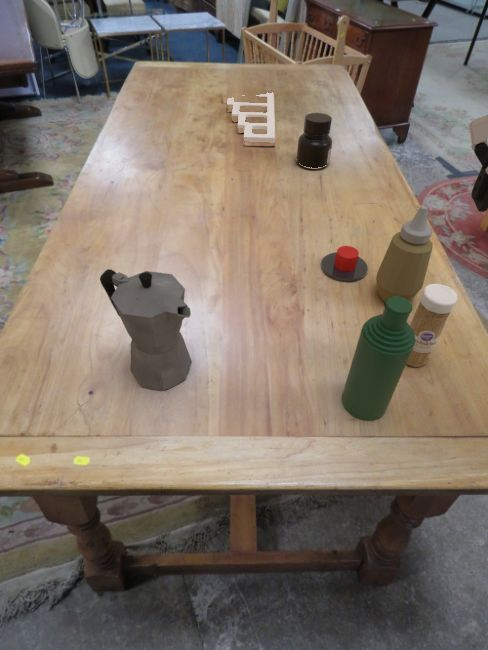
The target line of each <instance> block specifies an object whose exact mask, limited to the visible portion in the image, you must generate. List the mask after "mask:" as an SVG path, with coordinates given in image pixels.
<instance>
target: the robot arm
mask: <svg viewBox="0 0 488 650" xmlns="http://www.w3.org/2000/svg"><path fill="white" fill-rule="evenodd" d="M468 129H469V136H470V141H471V149H472V151H473V152H474V154H475V156H476V158H477V159H478V161H479V163H480V164H481V168H480V169H479V173H478V174H477V178H476V179H475V182H474V184H473V186H472V190H471V193H470V194H471V195H470V197H471V199H472V200H473V202H474V204H475V206H476V209H477V212H483V213H485V212H486V211H488V114H486V115H483V116H481V117H478V118H474V119H473V120H471V121H470V122H469V124H468Z"/></svg>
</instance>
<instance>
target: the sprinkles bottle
mask: <svg viewBox="0 0 488 650" xmlns="http://www.w3.org/2000/svg"><path fill="white" fill-rule="evenodd" d="M458 298H459V296H458V294H457V292H456V291H455V290H454V289H453V288H451V287H449V286H447V285H445V284H440V283H430V284H427V285H426V286H425V287H424V288H423V291H422V293H421V294H420V297H419V303H418V305H417V308H416V310H415V312H414V313H413V316H412V318H411V321H410V324H409V325H410V327H411V328H412V329H413V331H414V334H415V345H414V347H413V349H412V352H411V354H410V356H409V359H408V361H407V363H406V366H410V367H412V368H413V367H414V368H421V367H424V366H425V365H426V364H427V363H428V360H429V357H430V355H431V353H432V351H433V350H434V348H435V346H436V344H437V342H438V340H439V337H440V336H441V333H442V331H443V329H444V327H445V325H446V322H447V320H448V318H449V315H450V314H451V312H452V311H453V310H454V309H455V307H456V304H457V302H458V300H459V299H458Z"/></svg>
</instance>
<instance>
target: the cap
mask: <svg viewBox="0 0 488 650" xmlns="http://www.w3.org/2000/svg"><path fill="white" fill-rule="evenodd" d="M359 255H360V253H359V250H358V249H357V248H355V247H354V246H351V245H341V246H339V247H338V248H337V250H336V257H335V262H334V263H335V264H334V265H335V267H336V268H337V269H338V270H340V271H343V272H351V271H353V270H354V269H355V267H356V265H357V261H358V257H360V256H359Z"/></svg>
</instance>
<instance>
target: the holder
mask: <svg viewBox="0 0 488 650" xmlns="http://www.w3.org/2000/svg"><path fill="white" fill-rule="evenodd" d="M242 96H245V95H242ZM256 96H259V97H267V103H249V102H234V98H233V97H232V98H228V99H227V104H226V106H227V105H233V109H232V113H231V117H232V116H238V123H236V124H237V127H236V129H237V128H244V134H243V142H244V141H249V142H270V143H274V142H275V143H276V121H275V120H276V119H275V116H276V115H275V92H274V93H273V92H272V93H268V92H267V93H266V94H260V95H256ZM240 106H261V107H267V112H266V113H263V112H240V111H239V110H240ZM246 117H264V118H267V123H249V122H245V120H246ZM252 129H265V130H267V134H254V133H252Z"/></svg>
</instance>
